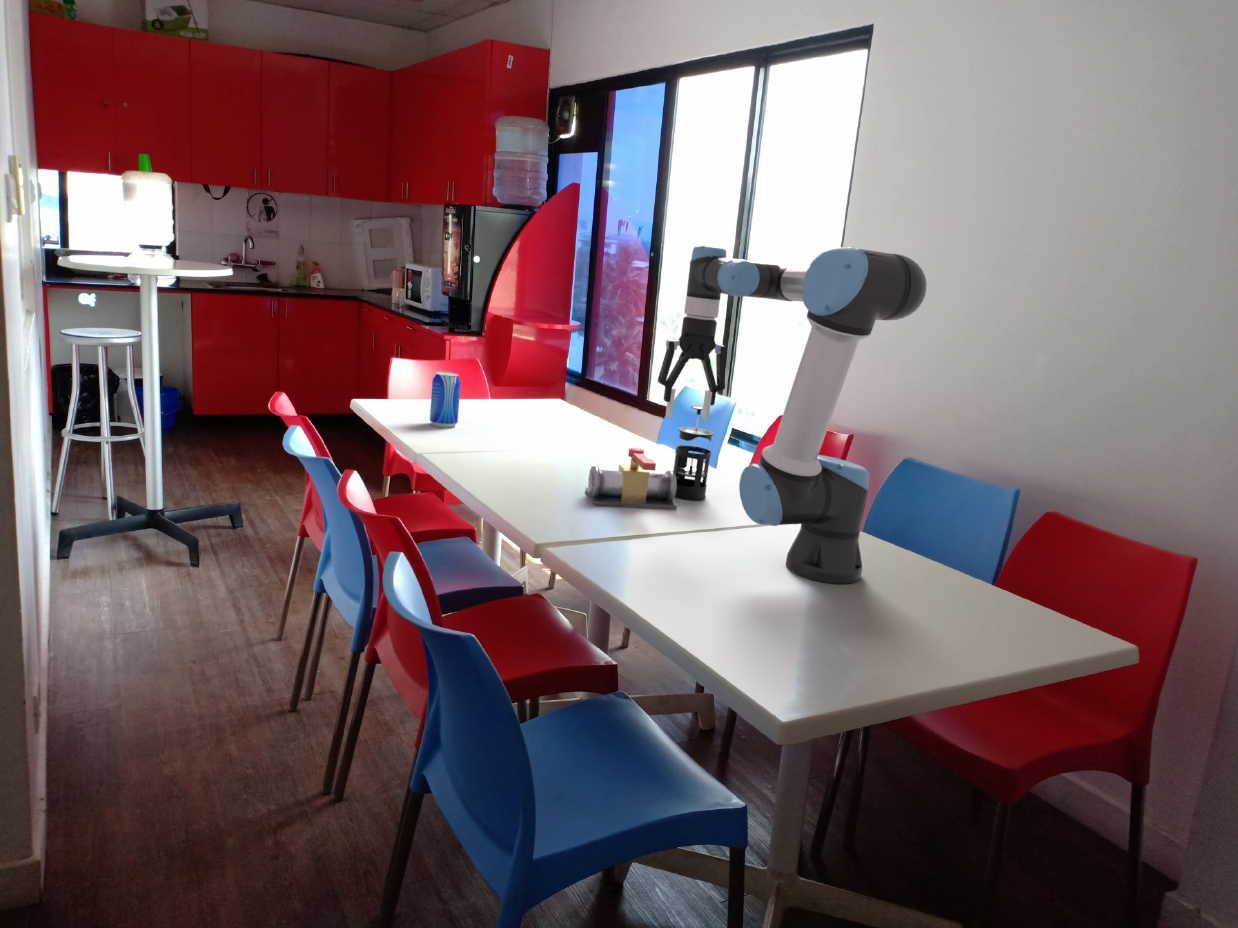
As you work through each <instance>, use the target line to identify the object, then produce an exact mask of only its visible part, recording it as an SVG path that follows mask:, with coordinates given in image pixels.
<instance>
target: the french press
mask: <svg viewBox="0 0 1238 928" xmlns="http://www.w3.org/2000/svg"><path fill="white" fill-rule="evenodd" d="M690 408H691V409H693V410H696V415H697V418H696V424H695V425H696V426H695V427H693V426H680V427H678V431H679V435H678V438H679V439H681V440H683V441H685V442H686V441H687V442H690V441H693V440H694V441H693V445H687V444H679V445H677V446H676V447H675V453H674V454H675V456H674V465H673V471H674V472H675V475H676V481H677V488H676V495H675V499H680V500H684V501H694V502H698V501H704V500H706V498H707V495H706V492H707V491H706V490H707V479H708V473H709V465H710V459H711V457H712V450H710V449H707V448H705V447H701V446H696V441H697V438H703V439H707V440H709V442H712V437H713V436H715V435H714V434H715V432H713V431H712V430H709V429H705V428H701V427H699V418H700V415H702V411H703V406H700V405H693V406H690ZM688 459H691V462H690V466H689V467H688V466H687V465H688ZM694 459H695V460H696V466H695V467H693V461H694ZM687 477H688V478H687ZM693 478H694V479H693Z"/></svg>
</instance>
